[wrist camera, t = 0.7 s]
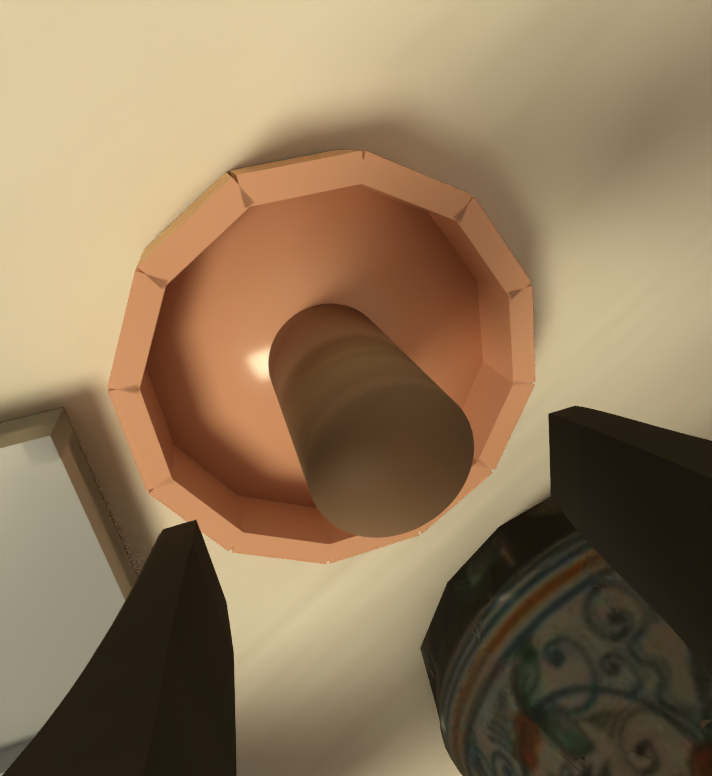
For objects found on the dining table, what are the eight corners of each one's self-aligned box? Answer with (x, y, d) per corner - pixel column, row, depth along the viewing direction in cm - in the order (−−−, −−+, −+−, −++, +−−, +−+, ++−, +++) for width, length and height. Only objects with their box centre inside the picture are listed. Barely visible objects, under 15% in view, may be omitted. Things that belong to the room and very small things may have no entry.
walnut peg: (391, 398, 21) (479, 509, 14) (282, 428, 20) (325, 558, 14) (375, 290, 19) (467, 363, 13) (255, 319, 18) (290, 411, 12)
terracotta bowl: (502, 459, 24) (539, 496, 21) (191, 553, 22) (192, 607, 19) (480, 122, 18) (526, 118, 16) (61, 202, 16) (38, 213, 14)
